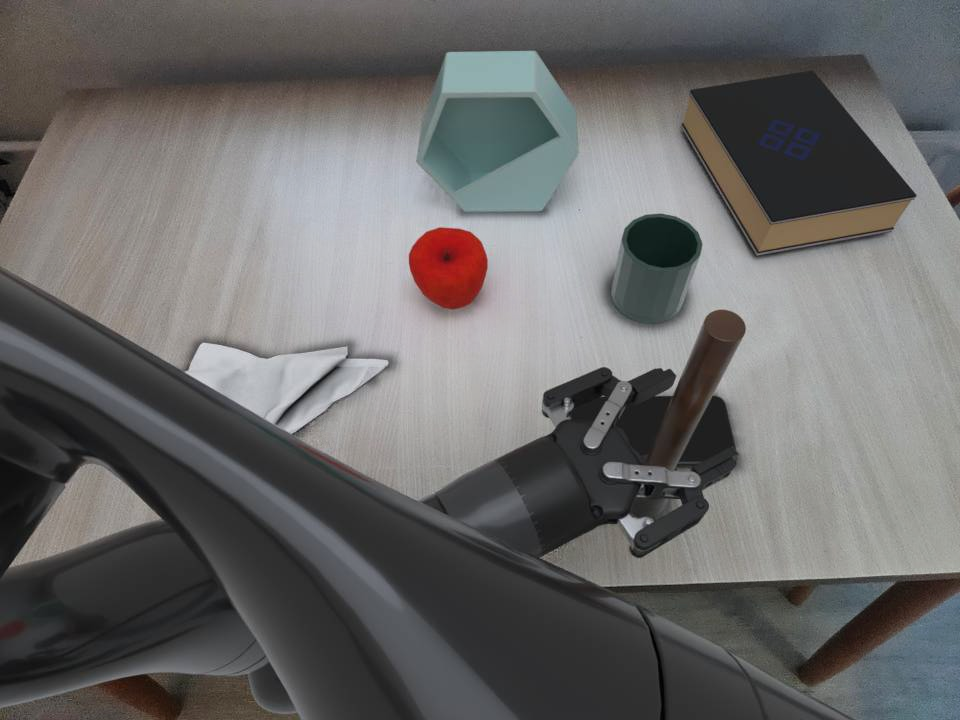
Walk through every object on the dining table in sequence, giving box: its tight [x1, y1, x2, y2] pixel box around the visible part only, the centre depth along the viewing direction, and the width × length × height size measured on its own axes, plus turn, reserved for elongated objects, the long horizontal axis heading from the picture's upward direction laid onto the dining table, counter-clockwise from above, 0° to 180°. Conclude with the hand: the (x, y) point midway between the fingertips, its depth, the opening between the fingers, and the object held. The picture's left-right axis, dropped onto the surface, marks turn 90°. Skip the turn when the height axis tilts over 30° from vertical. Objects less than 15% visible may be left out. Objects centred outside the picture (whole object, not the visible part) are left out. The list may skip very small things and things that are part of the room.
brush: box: [630, 309, 747, 519], centre depth 50 cm, size 4×4×28 cm
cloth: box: [184, 342, 390, 435], centre depth 69 cm, size 26×14×2 cm, turn 85°
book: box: [680, 69, 917, 257], centre depth 82 cm, size 17×25×7 cm
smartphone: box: [569, 395, 739, 468], centre depth 65 cm, size 8×1×16 cm
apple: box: [408, 226, 489, 310], centre depth 73 cm, size 9×9×8 cm
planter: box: [415, 50, 580, 213], centre depth 78 cm, size 17×8×21 cm
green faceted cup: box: [610, 213, 703, 324], centre depth 71 cm, size 8×8×9 cm
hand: (700, 414), depth 49 cm, fingers open, 7 cm apart
